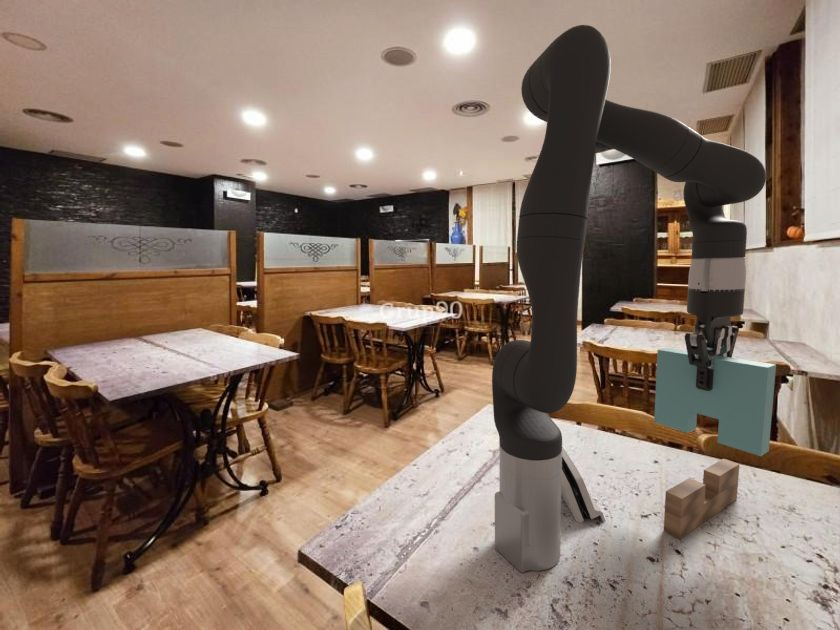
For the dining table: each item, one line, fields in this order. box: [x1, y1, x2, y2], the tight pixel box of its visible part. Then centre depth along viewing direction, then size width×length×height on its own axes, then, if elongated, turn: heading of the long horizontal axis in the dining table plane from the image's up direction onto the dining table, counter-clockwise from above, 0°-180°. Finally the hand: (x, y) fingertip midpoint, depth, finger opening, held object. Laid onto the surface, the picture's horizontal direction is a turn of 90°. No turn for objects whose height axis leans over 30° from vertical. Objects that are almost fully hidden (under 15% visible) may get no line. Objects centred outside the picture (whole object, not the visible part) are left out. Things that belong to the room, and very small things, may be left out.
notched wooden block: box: [663, 458, 740, 540], centre depth 69 cm, size 20×2×7 cm, turn 120°
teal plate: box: [653, 347, 777, 457], centre depth 67 cm, size 16×3×14 cm, turn 31°
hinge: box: [561, 446, 606, 523], centre depth 76 cm, size 17×5×10 cm, turn 178°
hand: (709, 387), depth 67 cm, fingers closed on teal plate, 3 cm apart
